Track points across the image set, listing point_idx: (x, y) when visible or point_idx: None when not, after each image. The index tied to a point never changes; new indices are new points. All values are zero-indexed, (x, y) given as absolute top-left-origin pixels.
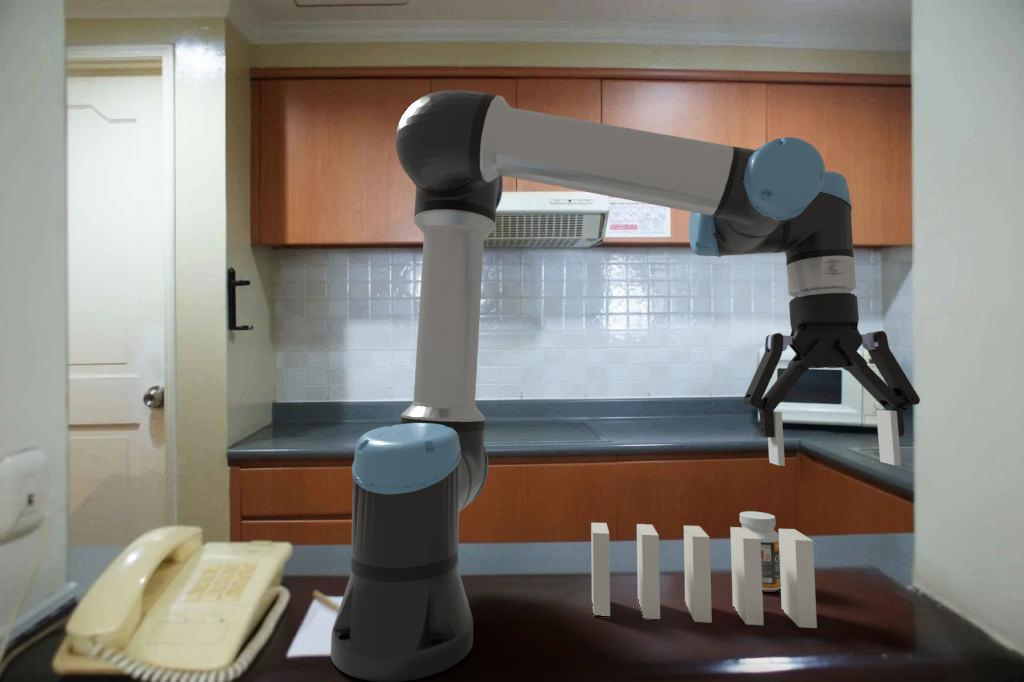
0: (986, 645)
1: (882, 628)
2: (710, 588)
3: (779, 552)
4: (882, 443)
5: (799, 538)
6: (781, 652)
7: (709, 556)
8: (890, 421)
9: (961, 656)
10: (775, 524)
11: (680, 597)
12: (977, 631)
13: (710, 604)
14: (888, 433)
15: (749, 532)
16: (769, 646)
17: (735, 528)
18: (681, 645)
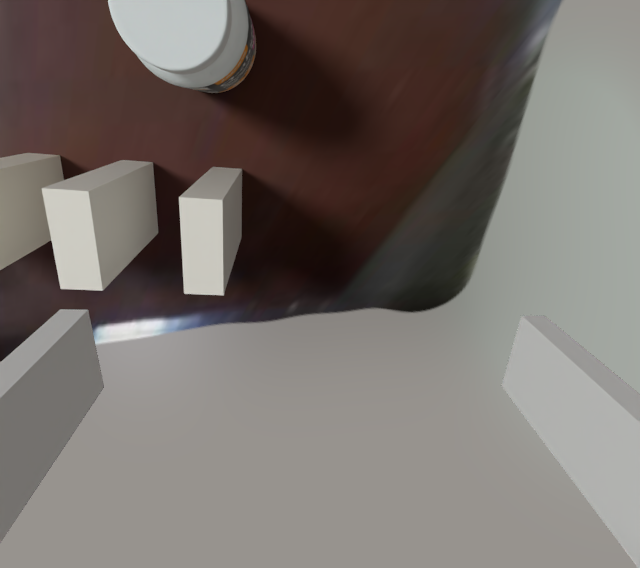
0: (448, 274)
1: (343, 232)
2: (41, 244)
3: (192, 185)
4: (560, 384)
5: (199, 280)
6: (158, 309)
7: (3, 267)
8: (616, 538)
9: (389, 303)
10: (224, 47)
11: (18, 116)
12: (477, 234)
13: None
14: (582, 460)
15: (86, 239)
16: (147, 295)
17: (54, 203)
18: (18, 301)
